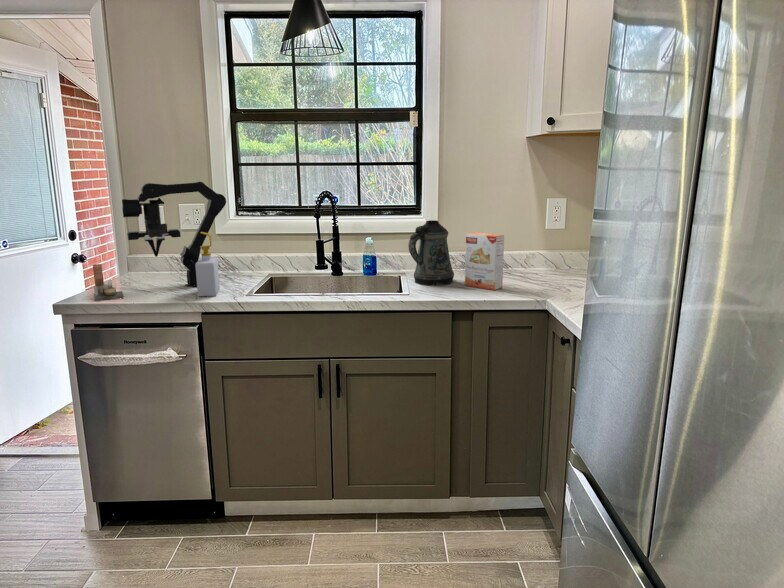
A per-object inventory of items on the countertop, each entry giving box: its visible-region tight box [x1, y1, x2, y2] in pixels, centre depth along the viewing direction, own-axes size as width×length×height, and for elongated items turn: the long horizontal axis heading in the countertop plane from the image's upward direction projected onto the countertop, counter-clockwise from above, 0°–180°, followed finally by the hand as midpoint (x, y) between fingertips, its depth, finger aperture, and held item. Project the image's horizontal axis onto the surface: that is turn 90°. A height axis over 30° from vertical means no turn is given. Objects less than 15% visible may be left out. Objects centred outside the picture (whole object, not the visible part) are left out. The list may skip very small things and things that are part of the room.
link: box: [92, 263, 117, 295], centre depth 212 cm, size 12×4×10 cm, turn 50°
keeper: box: [93, 280, 113, 296], centre depth 211 cm, size 6×7×6 cm
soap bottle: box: [195, 232, 221, 297], centre depth 215 cm, size 12×7×23 cm, turn 10°
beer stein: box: [407, 219, 455, 287], centre depth 231 cm, size 16×19×25 cm
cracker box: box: [464, 231, 505, 291], centre depth 221 cm, size 14×6×21 cm, turn 47°
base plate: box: [93, 290, 125, 302], centre depth 212 cm, size 10×9×1 cm
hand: (156, 256), depth 223 cm, fingers closed
